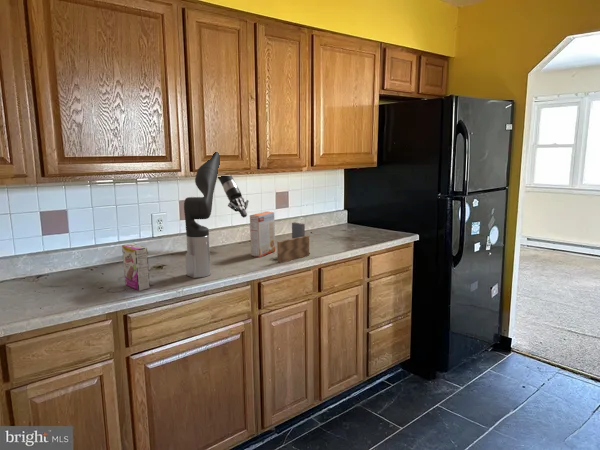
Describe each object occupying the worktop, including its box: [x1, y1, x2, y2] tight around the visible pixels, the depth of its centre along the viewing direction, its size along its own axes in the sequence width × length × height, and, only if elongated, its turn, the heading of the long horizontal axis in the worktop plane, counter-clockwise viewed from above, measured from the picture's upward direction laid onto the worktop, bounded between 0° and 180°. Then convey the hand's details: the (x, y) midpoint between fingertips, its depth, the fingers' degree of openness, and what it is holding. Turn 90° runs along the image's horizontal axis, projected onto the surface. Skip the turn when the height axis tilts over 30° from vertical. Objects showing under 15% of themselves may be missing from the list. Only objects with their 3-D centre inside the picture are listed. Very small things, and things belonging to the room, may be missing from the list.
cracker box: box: [249, 211, 276, 258], centre depth 217 cm, size 14×6×21 cm, turn 149°
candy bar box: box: [121, 242, 151, 292], centre depth 166 cm, size 11×5×16 cm, turn 48°
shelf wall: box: [276, 235, 310, 264], centre depth 208 cm, size 20×2×10 cm, turn 135°
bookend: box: [291, 222, 311, 255], centre depth 217 cm, size 6×7×16 cm
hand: (245, 216), depth 229 cm, fingers closed
